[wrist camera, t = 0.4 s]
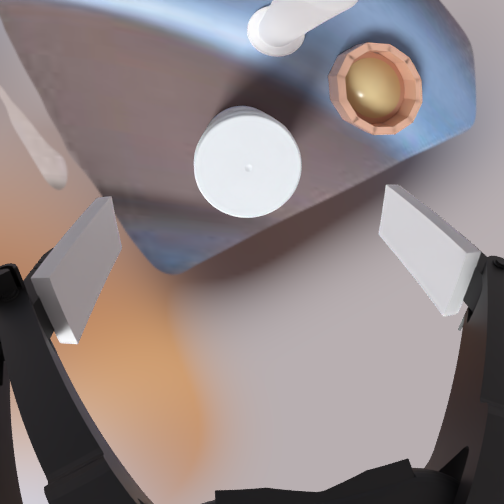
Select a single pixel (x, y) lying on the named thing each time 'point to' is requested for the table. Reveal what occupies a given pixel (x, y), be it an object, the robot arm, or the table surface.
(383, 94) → the jar dish
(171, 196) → the table surface
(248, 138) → the supplement tub
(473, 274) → the robot arm
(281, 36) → the candle
